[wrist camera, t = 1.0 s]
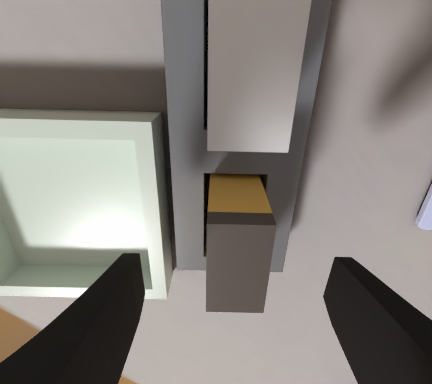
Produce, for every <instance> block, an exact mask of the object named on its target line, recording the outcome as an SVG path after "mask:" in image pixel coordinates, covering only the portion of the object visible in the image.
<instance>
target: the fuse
mask: <svg viewBox="0 0 432 384" xmlns="http://www.w3.org/2000/svg"><path fill="white" fill-rule="evenodd" d="M311 1H312V0H208V122H207V151H238V152H280V153H288V150H289V144H290V137H291V131H292V124H293V118H294V111H295V105H296V98H297V92H298V85H299V79H300V72H301V66H302V59H303V53H304V46H305V40H306V33H307V27H308V20H309V14H310V7H311Z"/></svg>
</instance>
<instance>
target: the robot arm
mask: <svg viewBox="0 0 432 384" xmlns="http://www.w3.org/2000/svg"><path fill="white" fill-rule="evenodd" d="M415 223H416V225H417V226H418V227H420V228H421V229H424V230H432V184H431V186H430V189H429V191H428V193H427V196H426V198H425V200H424V202H423V205H422V207H421V209H420V211H419V214H418V216H417V218H416V222H415ZM144 297H145V287H144V280H143V273H142V266H141V259H140V253H123V254H121V255H120V256H119V257H118V258H117V259H116V260H115V261H114V262H113V264H112V265H111V266H110V267H109V268H108V269H107V270H106V271H105V272H104V273H103V274H102V275H101V276H100V277H99V278H98V279H97V280H96V281H95V282H94V283H93V284H92V285H91V286H90V287H89V288H88V289H87V290H86V291H85V292H84V293H83V294H82V295H81V296H80V297H79V298H77V299H76V300H75V301H74V302H73V303H72V304H71V305H70V306H69V307H68V308H67V309H65V310H64V311H63V312H62V313H61V314H60V315H59V316H58V317H57V318H55V319H54V320H53V321H52V322H51V323H50V324H49V325H48V326H46V327H45V328H44V329H43V330H42V331H40V332H39V333H38V334H37V335H36V336H34V337H33V338H32V339H31V340H29V341H28V342H27V343H26V344H24V345H23V346H22V347H21V348H19V349H18V350H17V351H16V352H14V353H13V354H12V355H10V356H9V357H8V358H6V359H5V360H4V361H2V362H1V363H0V384H118V383H119V379H120V377H121V374H122V371H123V368H124V365H125V362H126V359H127V356H128V353H129V350H130V347H131V344H132V341H133V338H134V335H135V332H136V329H137V326H138V323H139V320H140V316H141V311H142V307H143V302H144ZM323 297H324V301H325V304H326V308H327V311H328V314H329V317H330V321H331V324H332V326H333V328H334V331H335V333H336V335H337V338H338V340H339V342H340V345H341V347H342V349H343V351H344V354H345V356H346V358H347V360H348V362H349V365H350V367H351V369H352V371H353V374H354V376H355V378H356V380H357V383H358V384H432V320H431V319H429V318H428V317H427V316H425V315H424V314H423V313H421V312H420V311H419V310H417V309H416V308H415V307H413V306H412V305H411V304H410V303H408V302H407V301H406V300H404V299H403V298H402V297H401V296H399V295H398V294H397V293H396V292H394V291H393V290H392V289H391V288H389V287H388V286H387V285H386V284H384V283H383V282H382V281H381V280H379V279H378V278H377V277H376V276H374V275H373V274H372V273H371V272H370V271H368V270H367V269H366V268H365V267H363V266H362V265H361V264H360V263H358V262H357V261H356V260H354V259H353V258H352V257H335V258H334V261H333V265H332V268H331V272H330V275H329V278H328V282H327V285H326V289H325V292H324V295H323Z"/></svg>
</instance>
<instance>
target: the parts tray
mask: <svg viewBox="0 0 432 384" xmlns="http://www.w3.org/2000/svg"><path fill="white" fill-rule="evenodd" d="M123 253H140V259H141V266H142V273H143V280H144V287H145V297H144V299H167V297H168V293H169V288H170V283H171V278H172V274H173V265H172V251H171V237H170V223H169V209H168V194H167V180H166V166H165V152H164V138H163V123H162V112H138V111H96V110H55V109H14V108H0V296H44V297H80V296H81V295H82V294H83V293H84V292H85V291H86V290H87V289H88V288H89V287H90V286H91V285H92V284H93V283H94V282H95V281H96V280H97V279H98V278H99V277H100V276H101V275H102V274H103V273H104V272H105V271H106V270H107V269H108V268H109V267H110V266H111V265H112V264H113V262H114V261H115V260H116V259H117V258H118V257H119V256H120V255H121V254H123Z"/></svg>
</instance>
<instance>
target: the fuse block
mask: <svg viewBox="0 0 432 384" xmlns="http://www.w3.org/2000/svg"><path fill="white" fill-rule="evenodd" d="M331 6H332V0H312V1H311V7H310V14H309V20H308V27H307V33H306V40H305V46H304V53H303V59H302V66H301V72H300V79H299V85H298V92H297V98H296V105H295V111H294V118H293V124H292V131H291V137H290V144H289V150H288V153H280V152H238V151H207V122H208V119H206V0H161V12H162V28H163V45H164V61H165V78H166V94H167V111H168V127H169V144H170V160H171V177H172V193H173V210H174V226H175V243H176V259H177V270H206V253H207V233H205V181H206V173H229V174H259V176H260V179H261V182H262V184H263V187H264V190H265V193H266V196H267V199H268V202H269V205H270V207H271V210H272V213H273V216H274V219H275V222H276V225H277V227H276V234H275V240H274V247H273V253H272V260H271V266H270V272H283V267H284V261H285V256H286V250H287V245H288V239H289V234H290V229H291V223H292V218H293V212H294V207H295V201H296V196H297V191H298V185H299V180H300V174H301V169H302V163H303V158H304V152H305V147H306V142H307V136H308V131H309V125H310V120H311V114H312V109H313V104H314V98H315V93H316V87H317V82H318V76H319V71H320V65H321V60H322V55H323V49H324V44H325V38H326V33H327V27H328V22H329V16H330V11H331Z"/></svg>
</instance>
